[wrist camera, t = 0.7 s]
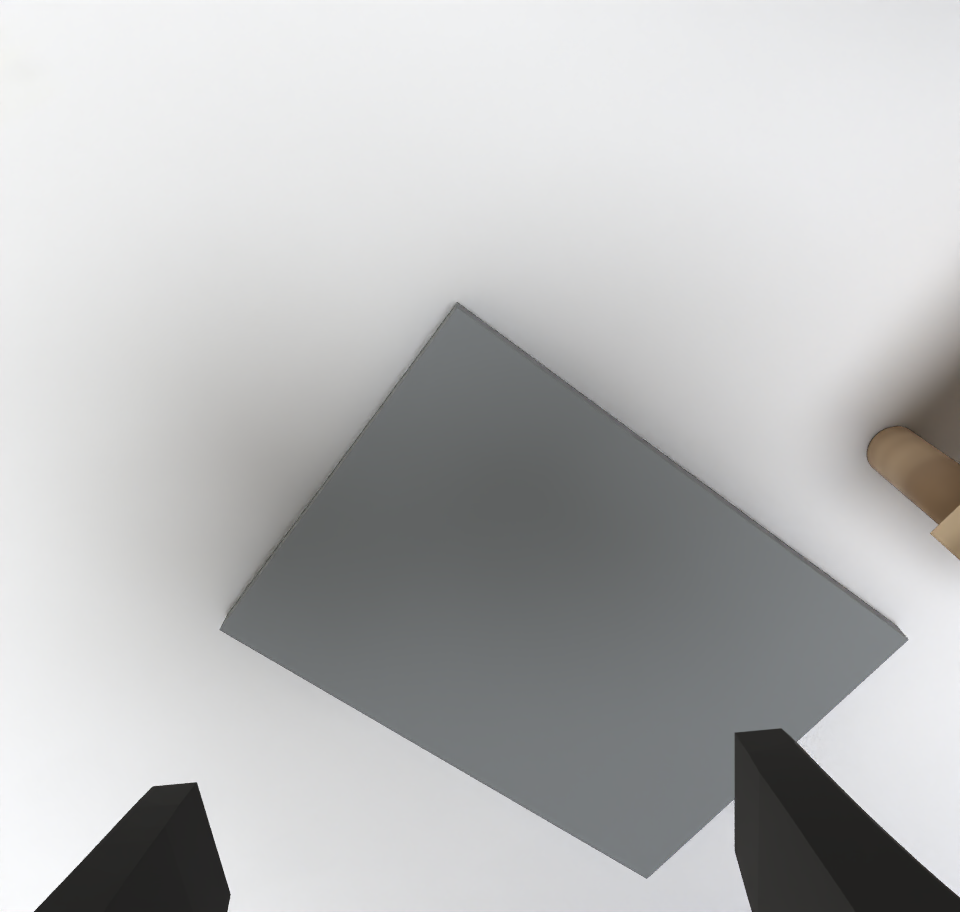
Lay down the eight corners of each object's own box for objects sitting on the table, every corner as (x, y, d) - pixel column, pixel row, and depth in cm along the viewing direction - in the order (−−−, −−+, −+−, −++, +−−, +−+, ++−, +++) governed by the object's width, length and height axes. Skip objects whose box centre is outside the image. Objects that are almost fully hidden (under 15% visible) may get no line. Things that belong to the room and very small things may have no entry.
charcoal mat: (897, 626, 21) (908, 639, 21) (643, 861, 24) (647, 878, 24) (457, 302, 18) (457, 308, 18) (226, 616, 21) (219, 630, 21)
